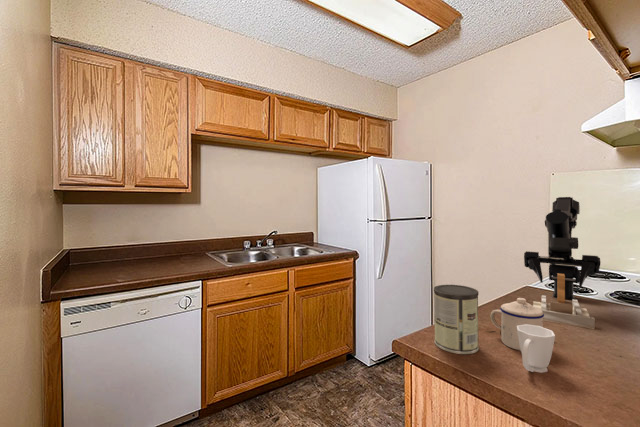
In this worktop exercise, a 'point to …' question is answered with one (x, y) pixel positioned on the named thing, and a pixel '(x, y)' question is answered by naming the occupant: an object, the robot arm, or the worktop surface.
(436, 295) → the coffee can
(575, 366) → the worktop surface
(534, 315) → the teacup with lid
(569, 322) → the lane tray
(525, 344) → the cup
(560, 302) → the tan wooden block
